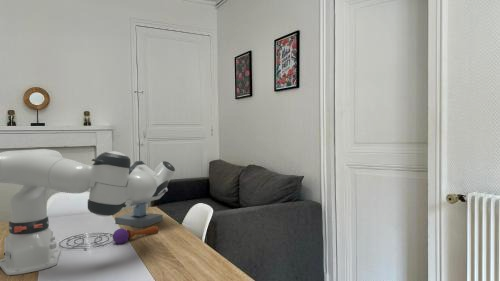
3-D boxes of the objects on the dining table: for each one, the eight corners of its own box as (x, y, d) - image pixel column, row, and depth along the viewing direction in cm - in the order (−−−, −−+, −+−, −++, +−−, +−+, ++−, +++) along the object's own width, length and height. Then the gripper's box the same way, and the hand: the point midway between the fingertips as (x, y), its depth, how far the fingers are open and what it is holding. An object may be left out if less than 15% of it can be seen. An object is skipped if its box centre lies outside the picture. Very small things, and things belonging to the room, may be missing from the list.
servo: (148, 214, 172) (147, 197, 172) (141, 216, 168) (141, 198, 168) (137, 213, 176) (137, 196, 175) (131, 215, 172) (130, 197, 172)
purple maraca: (161, 225, 151) (118, 232, 135) (158, 238, 151) (116, 247, 136) (153, 220, 155) (111, 227, 139) (150, 233, 155) (109, 241, 139)
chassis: (162, 220, 174) (162, 214, 174) (141, 227, 162) (141, 221, 162) (137, 216, 183) (137, 211, 183) (115, 223, 170) (115, 217, 170)
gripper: (139, 196, 157) (125, 215, 162) (170, 189, 175) (156, 206, 180) (132, 186, 159) (118, 205, 164) (163, 180, 177) (150, 197, 182)
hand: (138, 206), depth 172 cm, fingers closed on servo, 4 cm apart
